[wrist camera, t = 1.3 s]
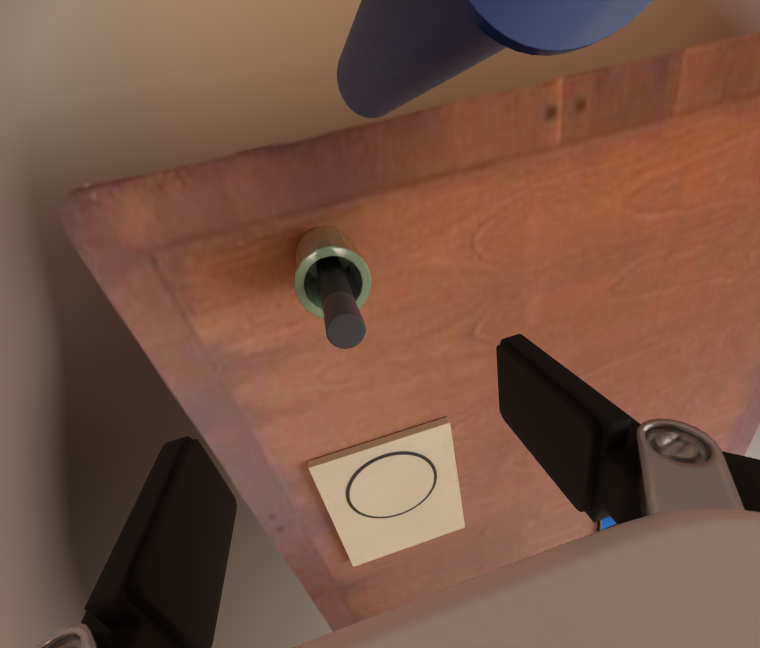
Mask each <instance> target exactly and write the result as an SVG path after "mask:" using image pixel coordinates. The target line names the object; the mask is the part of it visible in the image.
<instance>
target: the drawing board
mask: <svg viewBox="0 0 760 648" xmlns="http://www.w3.org/2000/svg"><path fill="white" fill-rule="evenodd" d="M308 469H309V471H310V473H311V475H312V478H313V480H314V482H315V484H316V486H317V489H318V491H319V493H320V495H321V497H322V499H323V502H324V504H325V506H326V508H327V510H328V513H329V515H330V517H331V519H332V521H333V524H334V526H335V528H336V530H337V532H338V535H339V537H340V539H341V541H342V543H343V545H344V548H345V550H346V552H347V554H348V556H349V559H350V561H351V563H352V565H353V567H355V566H357V565H360V564H363V563H366V562H369V561H371V560H374V559H377V558H380V557H383V556H386V555H388V554H391V553H394V552H397V551H400V550H402V549H405V548H408V547H411V546H414V545H416V544H419V543H422V542H425V541H428V540H431V539H433V538H436V537H439V536H442V535H445V534H447V533H450V532H453V531H456V530H459V529H461V528H464V527H465V525H464V518H463V511H462V504H461V497H460V490H459V483H458V476H457V469H456V462H455V455H454V448H453V441H452V434H451V427H450V422H449V420H448V419H447V417H444V418H441V419H438V420H435V421H432V422H429V423H426V424H423V425H419V426H416V427H413V428H410V429H407V430H404V431H401V432H398V433H394V434H391V435H388V436H385V437H382V438H379V439H376V440H373V441H370V442H366V443H363V444H360V445H357V446H354V447H351V448H348V449H345V450H341V451H338V452H335V453H332V454H329V455H326V456H323V457H320V458H317V459H313V460H310V461H308Z"/></svg>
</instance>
